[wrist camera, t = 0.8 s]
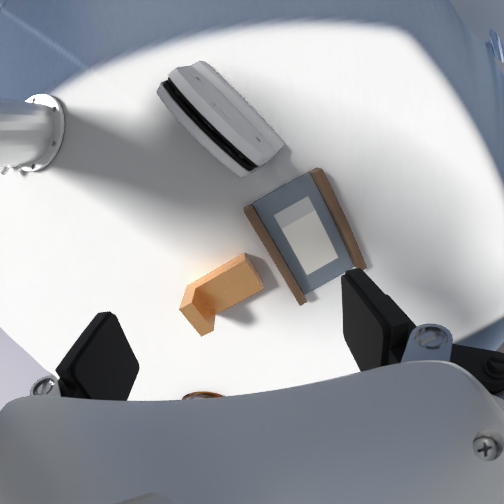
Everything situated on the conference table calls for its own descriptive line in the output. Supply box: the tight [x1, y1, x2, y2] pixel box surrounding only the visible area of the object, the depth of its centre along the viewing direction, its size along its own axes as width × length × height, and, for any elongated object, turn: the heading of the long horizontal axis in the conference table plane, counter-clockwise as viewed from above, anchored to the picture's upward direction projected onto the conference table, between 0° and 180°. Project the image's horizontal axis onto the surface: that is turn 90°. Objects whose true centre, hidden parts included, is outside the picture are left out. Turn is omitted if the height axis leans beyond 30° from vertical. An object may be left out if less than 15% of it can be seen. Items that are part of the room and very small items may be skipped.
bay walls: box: [244, 168, 367, 306], centre depth 39 cm, size 11×16×2 cm
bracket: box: [179, 253, 264, 336], centre depth 39 cm, size 10×5×7 cm, turn 120°
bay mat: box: [252, 172, 354, 294], centre depth 40 cm, size 9×16×1 cm, turn 30°
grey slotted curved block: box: [157, 61, 285, 178], centre depth 30 cm, size 17×5×10 cm, turn 42°
